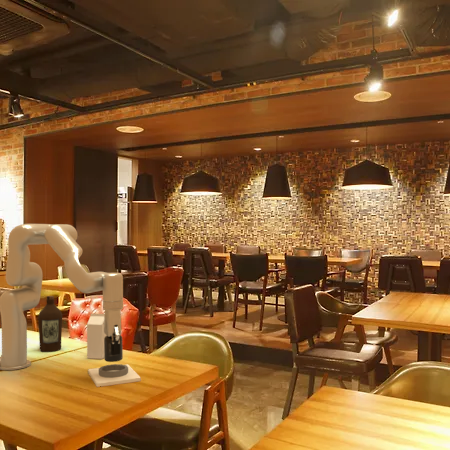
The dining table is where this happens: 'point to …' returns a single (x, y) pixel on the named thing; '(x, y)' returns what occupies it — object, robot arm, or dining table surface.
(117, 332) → the robot arm
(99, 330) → the milk carton
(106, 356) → the supplement bottle
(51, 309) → the olive oil
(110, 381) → the dock
